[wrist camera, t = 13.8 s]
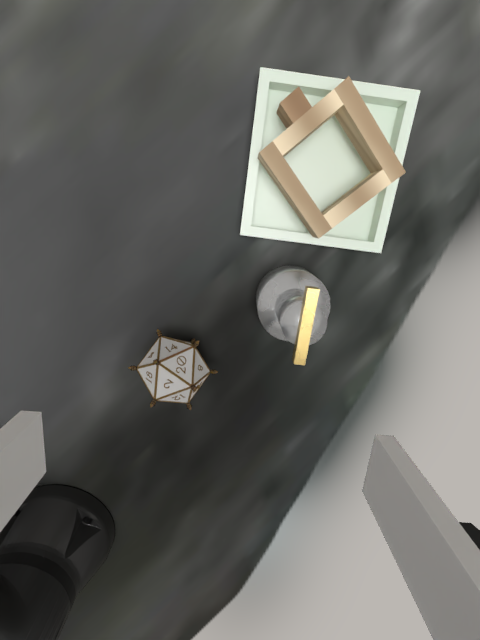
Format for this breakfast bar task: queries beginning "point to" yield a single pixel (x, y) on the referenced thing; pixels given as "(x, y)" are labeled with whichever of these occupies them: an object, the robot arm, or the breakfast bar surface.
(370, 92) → the tray
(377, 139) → the tan wooden square frame
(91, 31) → the breakfast bar surface
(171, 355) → the game die
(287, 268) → the grey piece
